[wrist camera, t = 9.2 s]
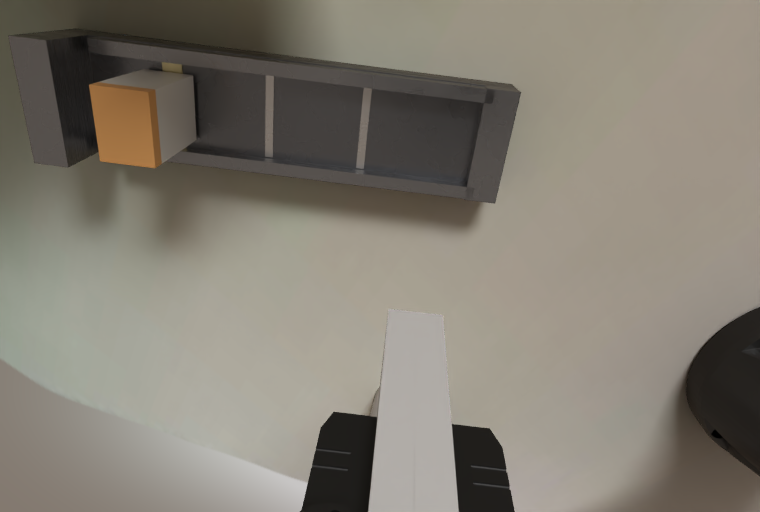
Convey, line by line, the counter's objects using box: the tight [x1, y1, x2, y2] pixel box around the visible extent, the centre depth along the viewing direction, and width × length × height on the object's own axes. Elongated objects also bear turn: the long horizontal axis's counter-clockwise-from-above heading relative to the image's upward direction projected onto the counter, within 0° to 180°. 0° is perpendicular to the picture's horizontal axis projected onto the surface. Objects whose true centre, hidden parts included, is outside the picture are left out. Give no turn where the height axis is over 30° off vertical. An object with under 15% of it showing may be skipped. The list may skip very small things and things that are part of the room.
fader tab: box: [89, 69, 197, 168], centre depth 29 cm, size 4×3×6 cm
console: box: [8, 29, 521, 203], centre depth 31 cm, size 7×28×6 cm, turn 84°
